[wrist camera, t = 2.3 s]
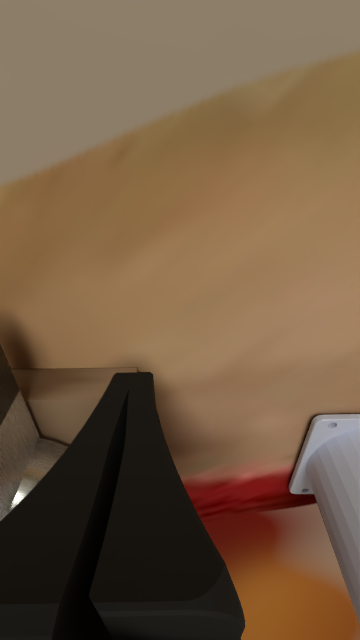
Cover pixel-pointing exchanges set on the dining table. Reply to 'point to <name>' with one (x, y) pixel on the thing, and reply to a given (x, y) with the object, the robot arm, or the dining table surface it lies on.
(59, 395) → the walnut base
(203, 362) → the dining table surface
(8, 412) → the lever handle
